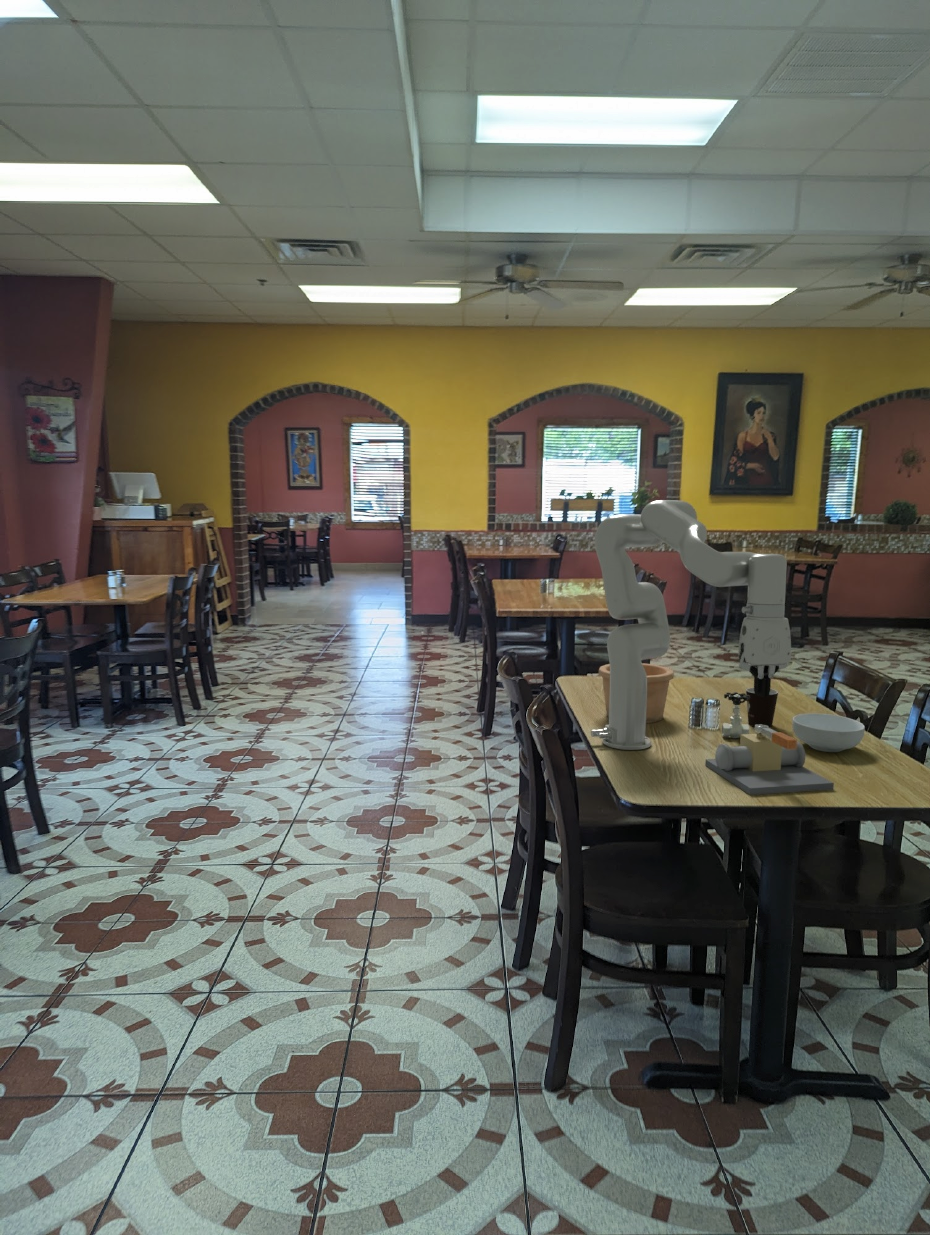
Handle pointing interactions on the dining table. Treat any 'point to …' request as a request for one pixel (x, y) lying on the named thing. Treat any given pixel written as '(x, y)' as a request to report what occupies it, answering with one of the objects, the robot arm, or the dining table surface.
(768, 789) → the valve board
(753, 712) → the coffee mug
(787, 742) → the valve lever
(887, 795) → the dining table surface
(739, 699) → the valve
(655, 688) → the pottery
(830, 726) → the cereal bowl
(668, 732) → the dining table surface
